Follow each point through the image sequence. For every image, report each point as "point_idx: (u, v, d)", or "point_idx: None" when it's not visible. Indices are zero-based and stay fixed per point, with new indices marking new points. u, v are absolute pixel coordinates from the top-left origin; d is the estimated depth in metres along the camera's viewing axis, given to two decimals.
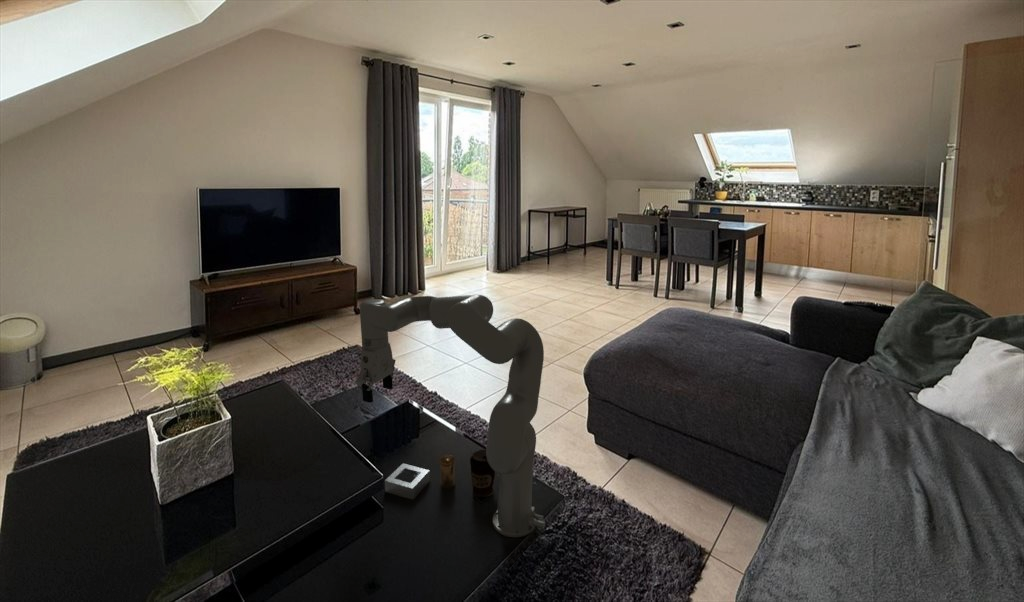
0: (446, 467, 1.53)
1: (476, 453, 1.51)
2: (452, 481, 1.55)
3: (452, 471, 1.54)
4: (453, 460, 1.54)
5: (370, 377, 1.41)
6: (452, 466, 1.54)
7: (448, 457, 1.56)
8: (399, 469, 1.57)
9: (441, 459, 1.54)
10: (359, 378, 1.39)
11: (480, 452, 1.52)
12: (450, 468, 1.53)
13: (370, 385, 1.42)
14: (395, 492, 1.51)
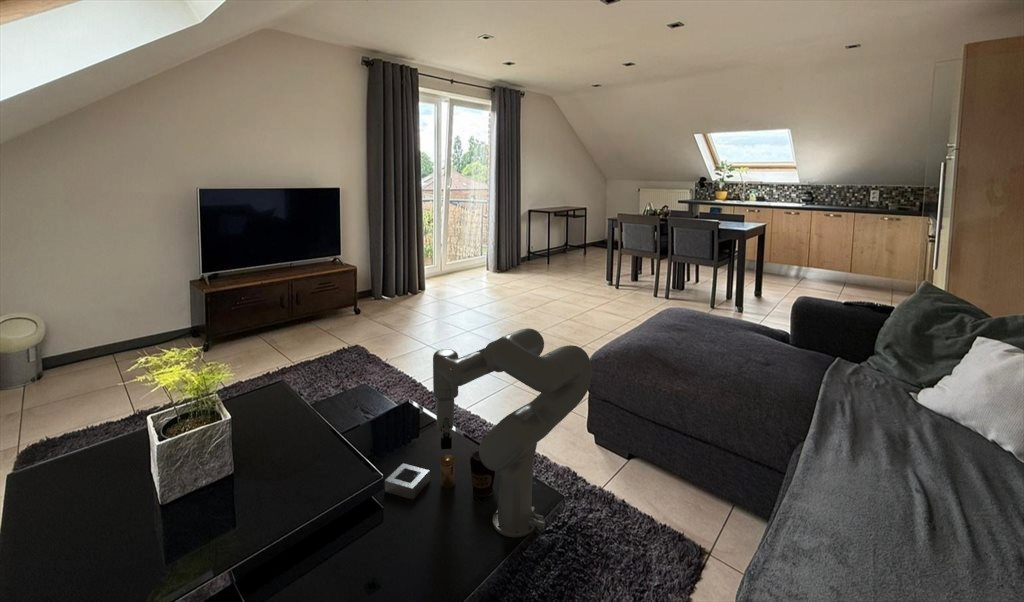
0: (446, 467, 1.53)
1: (476, 453, 1.51)
2: (452, 481, 1.55)
3: (452, 471, 1.54)
4: (453, 460, 1.54)
5: None
6: (452, 466, 1.54)
7: (448, 457, 1.56)
8: (399, 469, 1.57)
9: (441, 459, 1.54)
10: None
11: None
12: (451, 468, 1.53)
13: None
14: (395, 492, 1.51)
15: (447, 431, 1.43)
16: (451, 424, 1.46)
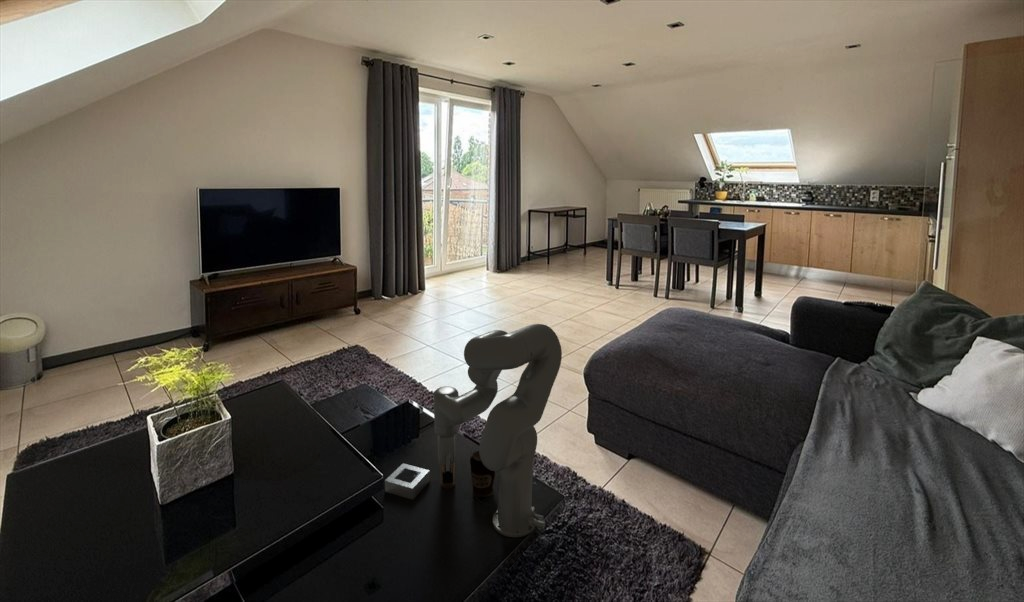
0: None
1: (476, 453, 1.51)
2: None
3: None
4: None
5: None
6: (452, 466, 1.54)
7: None
8: (399, 469, 1.57)
9: None
10: None
11: None
12: None
13: None
14: (395, 492, 1.51)
15: (448, 471, 1.48)
16: None
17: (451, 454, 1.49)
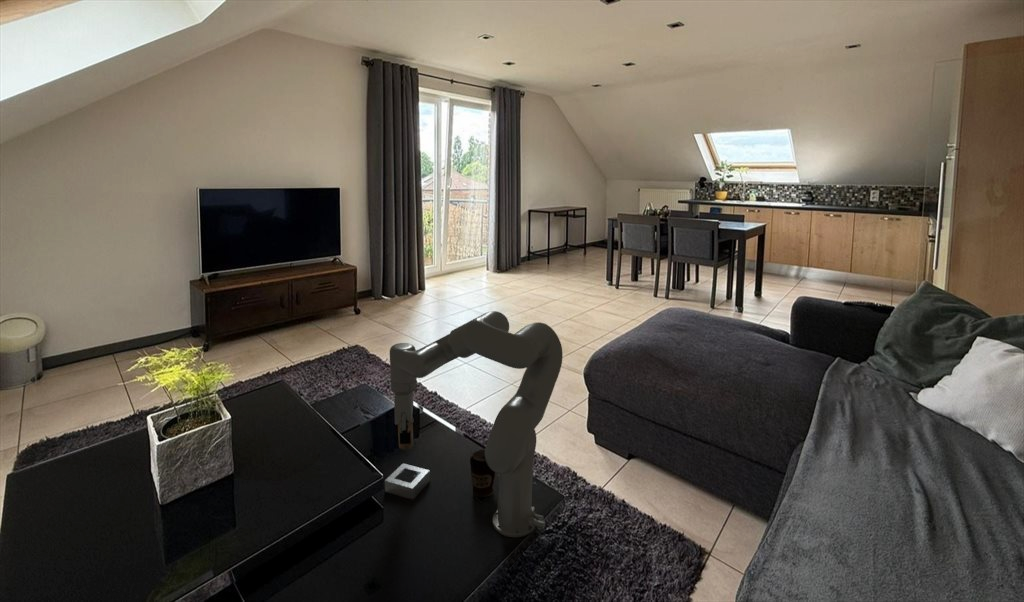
0: None
1: (476, 453, 1.51)
2: None
3: (410, 431, 1.49)
4: (411, 420, 1.49)
5: None
6: (410, 426, 1.48)
7: None
8: (399, 469, 1.57)
9: None
10: None
11: (480, 452, 1.52)
12: None
13: None
14: (395, 492, 1.51)
15: (404, 429, 1.43)
16: None
17: (407, 412, 1.43)
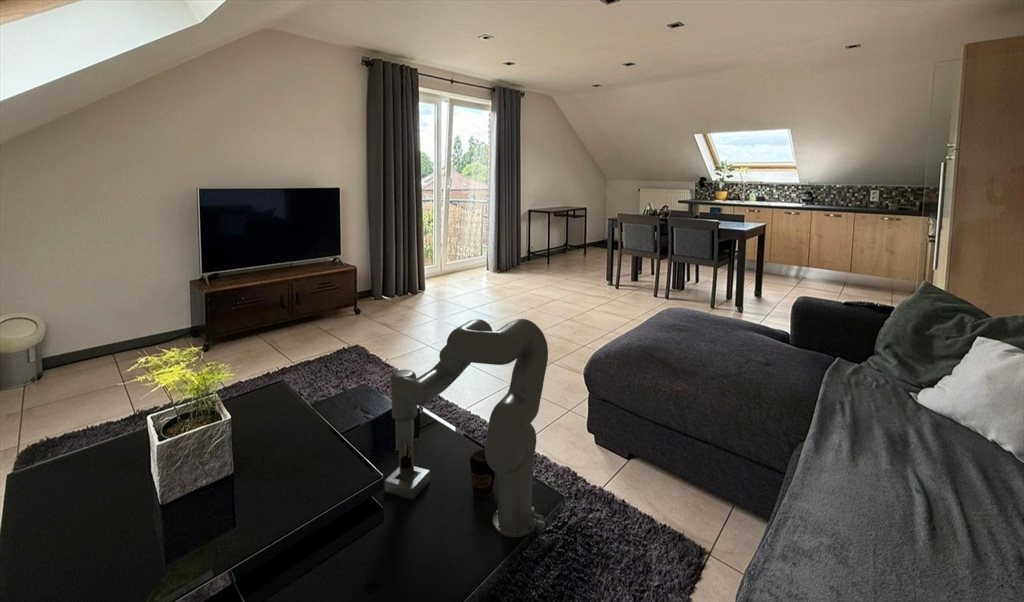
0: None
1: (476, 453, 1.51)
2: None
3: None
4: (412, 445, 1.51)
5: None
6: (410, 451, 1.51)
7: None
8: (399, 469, 1.57)
9: None
10: None
11: (480, 452, 1.52)
12: None
13: None
14: (395, 492, 1.51)
15: (405, 455, 1.45)
16: (410, 447, 1.47)
17: (408, 438, 1.46)
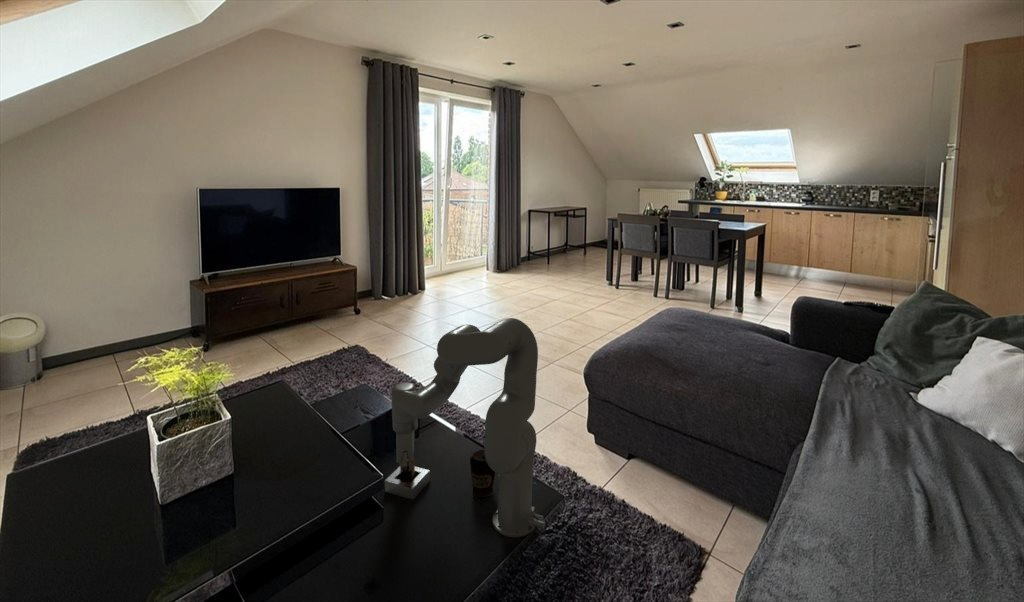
0: None
1: (476, 453, 1.51)
2: None
3: (412, 472, 1.53)
4: (413, 461, 1.52)
5: None
6: (412, 467, 1.52)
7: (408, 458, 1.54)
8: (399, 469, 1.57)
9: None
10: None
11: (480, 452, 1.52)
12: None
13: None
14: (395, 492, 1.51)
15: (405, 466, 1.44)
16: (410, 458, 1.48)
17: (409, 451, 1.47)
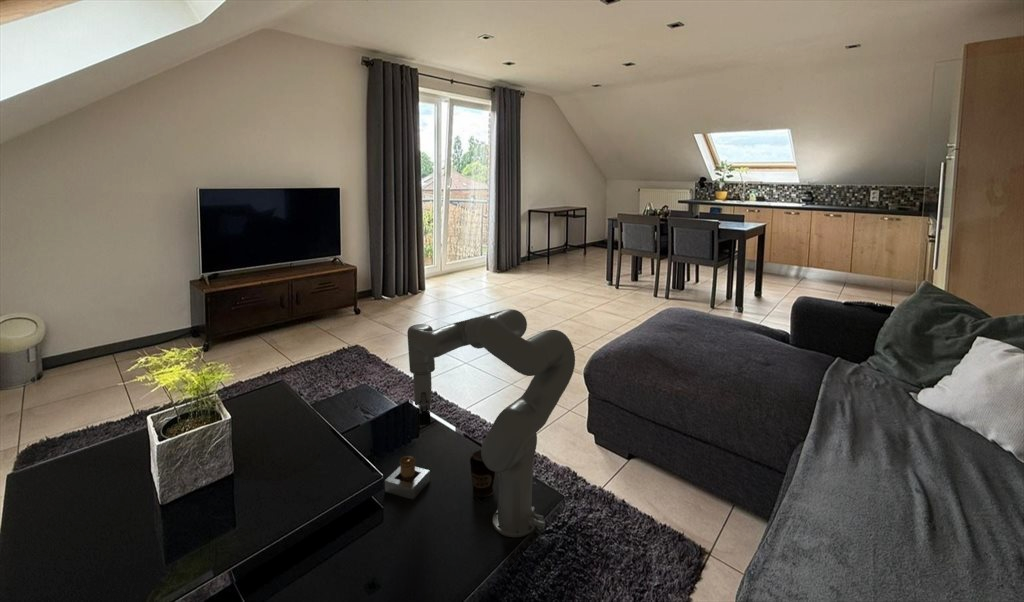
0: (406, 468, 1.51)
1: (476, 453, 1.51)
2: None
3: (412, 472, 1.53)
4: (413, 461, 1.53)
5: None
6: (412, 467, 1.52)
7: (408, 458, 1.54)
8: (399, 469, 1.57)
9: (401, 460, 1.53)
10: None
11: (480, 452, 1.52)
12: (410, 470, 1.52)
13: None
14: (395, 492, 1.51)
15: (425, 405, 1.42)
16: (429, 399, 1.46)
17: (427, 392, 1.45)
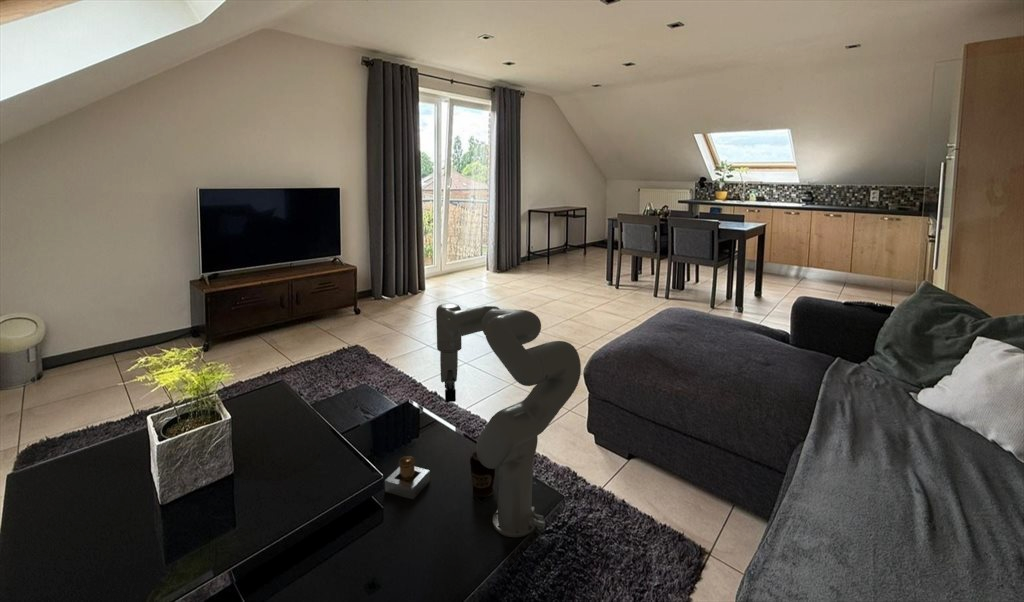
0: (405, 468, 1.51)
1: (476, 453, 1.51)
2: None
3: (412, 472, 1.53)
4: (412, 461, 1.52)
5: None
6: (411, 467, 1.52)
7: (407, 458, 1.54)
8: (399, 469, 1.57)
9: (400, 460, 1.53)
10: None
11: None
12: (410, 470, 1.52)
13: None
14: (395, 492, 1.51)
15: (451, 382, 1.45)
16: (455, 376, 1.49)
17: (454, 370, 1.48)
